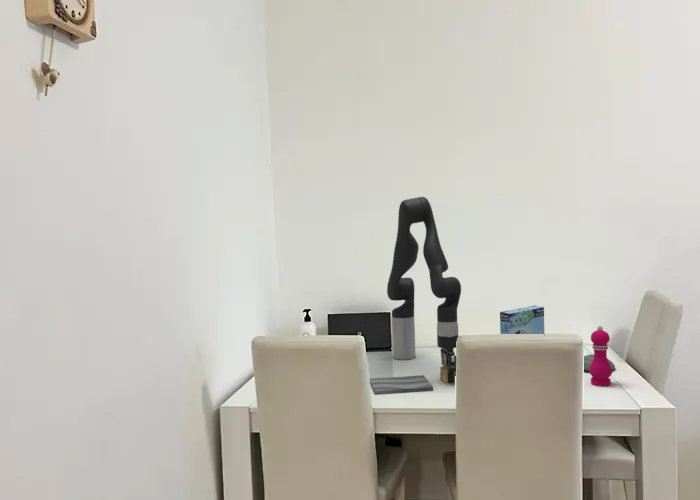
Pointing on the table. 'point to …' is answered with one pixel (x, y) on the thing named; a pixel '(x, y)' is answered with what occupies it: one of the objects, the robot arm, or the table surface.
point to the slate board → (400, 384)
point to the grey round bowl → (588, 361)
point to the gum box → (522, 321)
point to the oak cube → (445, 374)
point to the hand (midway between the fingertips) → (449, 380)
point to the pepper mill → (600, 358)
